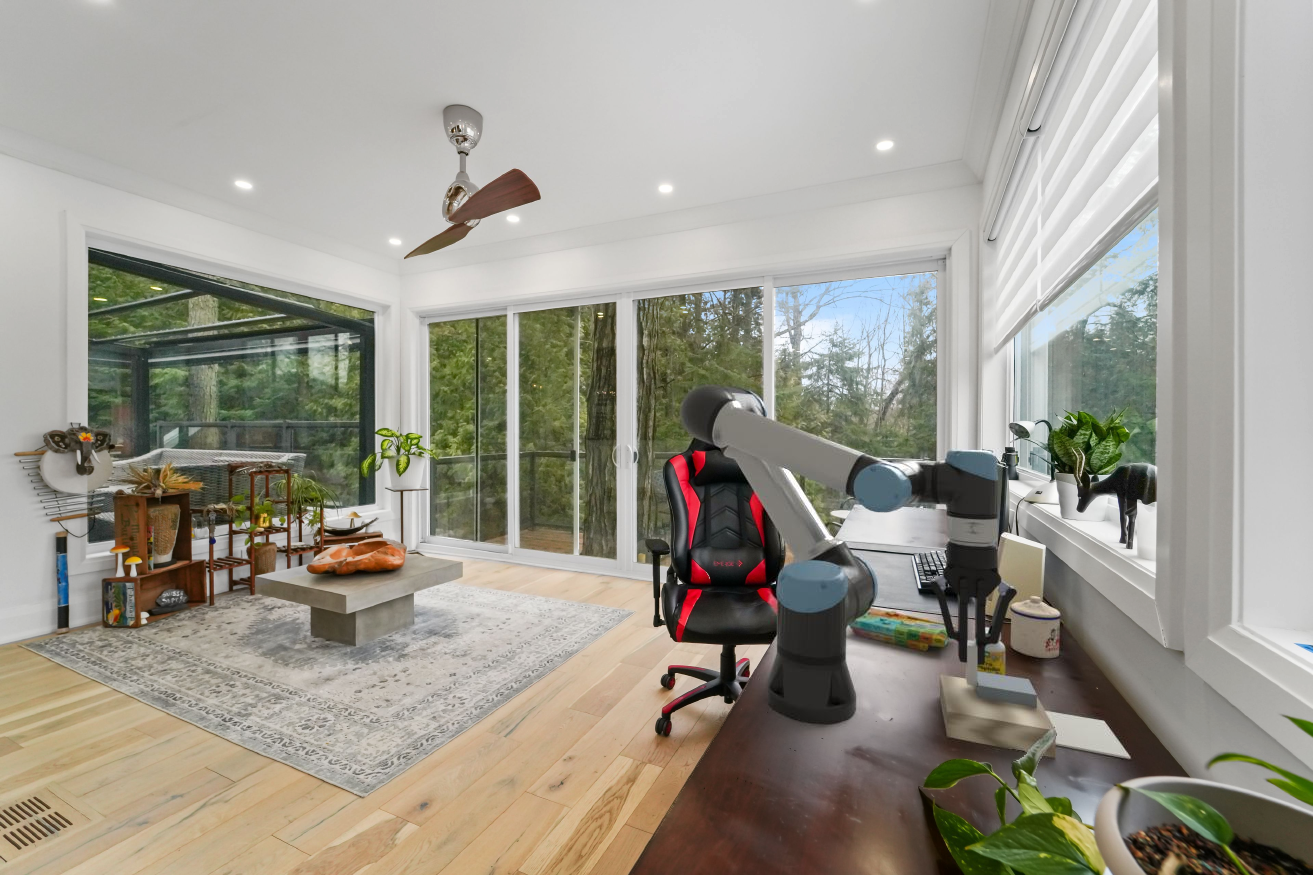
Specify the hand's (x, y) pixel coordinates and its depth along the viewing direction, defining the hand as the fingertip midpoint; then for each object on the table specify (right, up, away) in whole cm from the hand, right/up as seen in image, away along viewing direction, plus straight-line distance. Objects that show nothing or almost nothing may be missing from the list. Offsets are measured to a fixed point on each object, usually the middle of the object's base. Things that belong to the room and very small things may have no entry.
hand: (971, 681), depth 94 cm
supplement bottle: (+10, -5, +12) cm, 17 cm away
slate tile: (+4, -1, -2) cm, 5 cm away
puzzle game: (+3, -5, +34) cm, 34 cm away
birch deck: (+1, -5, -4) cm, 7 cm away
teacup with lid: (+30, -5, +28) cm, 41 cm away
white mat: (+13, -5, -6) cm, 16 cm away
